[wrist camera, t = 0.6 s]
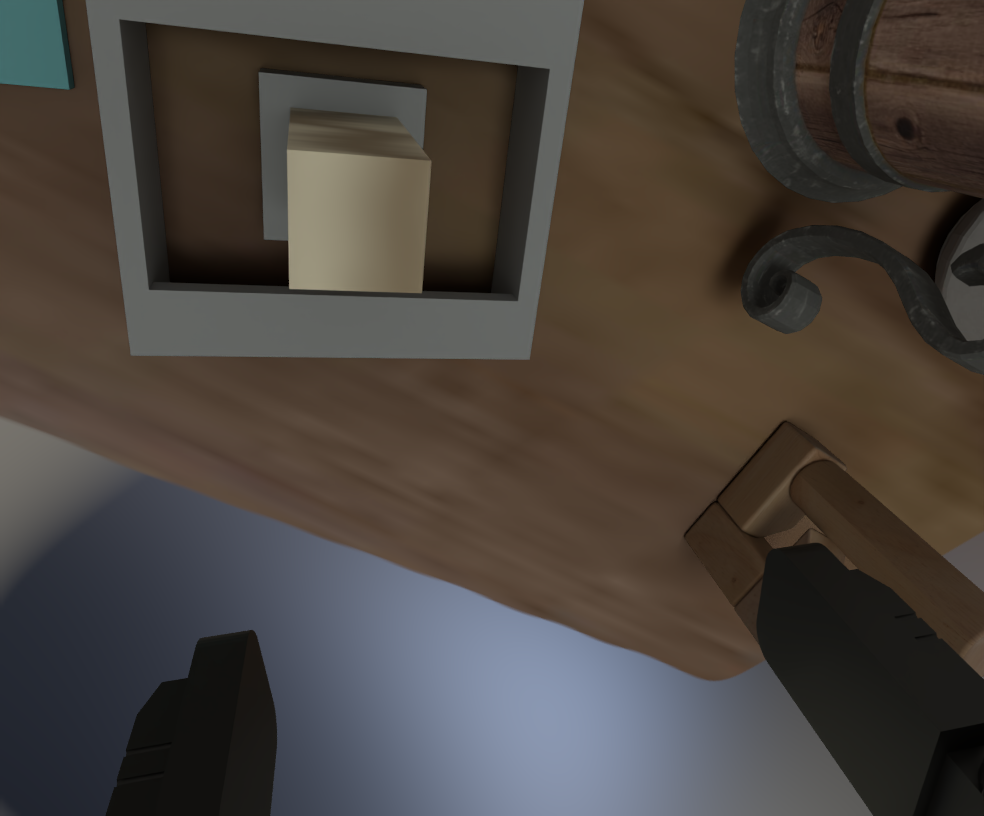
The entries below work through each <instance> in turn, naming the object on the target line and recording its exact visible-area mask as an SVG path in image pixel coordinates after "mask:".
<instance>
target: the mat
mask: <svg viewBox="0 0 984 816" xmlns="http://www.w3.org/2000/svg"><path fill="white" fill-rule="evenodd" d="M0 83H3V84H14V85H25V86H36V87H46V88H57V89H68V90H70V89H72V88H75V87H74V80H73V73H72V66H71V59H70V51H69V44H68V37H67V30H66V23H65V16H64V9H63V2H62V0H0Z"/></svg>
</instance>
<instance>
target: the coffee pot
mask: <svg viewBox="0 0 984 816" xmlns="http://www.w3.org/2000/svg"><path fill="white" fill-rule="evenodd" d="M982 243H984V199H981V200H980V201H979V202H978V203H976V204H975V205H974V206H973V207H972V208H970V209H969V210H968V211H967V212H966V213H965V214H964V215H963V216H962V217H961V218H960V219H959V221H958V222H957V223H956V225H955V226H954V227H953V229H952V230H951V231H950V232H949V234H948V236H947V238H946V240H945V242H944V244H943V246H942V248H941V251H940V254H939V258H938V261H937V264H936V273H935V284H936V285H937V287H938V288H939V290H940V292H941V294H942V296H943V298H944V301H945V303H946V305H947V307H948V309H949V311H950V314H951V316H952V318H953V320H954V322H955V325H956V326H957V328H958V329H959V330H960V332H961V333H962V334H963V336H964V337H965V339H966V340H967V341H975V340H983V339H984V285H980V286H970V287H969V286H968V285H966V284H965V283H963V282H962V281H960V280H959V279H957V278H956V277H955V276H954V275H953V274H952V270H951V264H952V263H953V262H954V261H955V260H956V259H957V258H958V257H959V256H960V255H961V254H962V253H964V252H966V251H968V250H970V249H972V248H974V247H976V246H977V245H979V244H982Z"/></svg>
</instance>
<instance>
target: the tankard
mask: <svg viewBox="0 0 984 816" xmlns="http://www.w3.org/2000/svg"><path fill="white" fill-rule="evenodd" d="M735 93H736V99H737V104H738V109H739V114H740V120H741V124H742V126H743V128H744V131H745V133H746V136H747V138H748V141H749V143H750V146H751V148H752V150H753V152H754V153H755V154H756V156H757V157H758V159H759V160H760V161H761V163H762V164H763V166H764V167H765V168H766V170H767V171H768V172H769V173H770V174H771V175H772V176H774V177H775V178H776V179H777V180H778V181H780V182H781V183H782V184H783V185H784V186H785V187H787V188H788V189H791V190H793V191H795V192H797V193H799V194H801V195H803V196H805V197H808V198H811V199H816V200H822V201H827V202H832V203H836V202H855V201H862V200H866V199H869V198H873V197H877V196H881V195H884V194H887V193H889V192H891V191H893V190H895V189H897V188H899V187H902V186H904V187H908V188H913V189H918V190H923V191H928V192H943V191H954V192H958V193H962V194H966V195H971V196H975V197H979V198H983V199H984V0H746V2H745V5H744V8H743V11H742V15H741V18H740V25H739V31H738V38H737V44H736V50H735ZM829 256H845V257H857V258H861V259H864V260H868V261H871V262H874V263H878V264H879V265H880V266H882V267H883V268H884V269H885V270H886V272H887V273H888V275H889V276H890V278H891V279H892V281H893V282H894V284H895V286H896V288H897V291H898V293H899V296H900V298H901V301H902V303H903V305H904V308H905V310H906V312H907V314H908V317H909V319H910V321H911V323H912V325H913V326H914V327H915V329H916V330H917V331H918V333H919V334H920V335H921V337H922V338H923V339H924V341H925V342H926V343H928V344H929V345H930V346H932V347H933V348H934V349H936V350H937V351H938V352H940V353H941V354H942V355H944V356H946V357H948V358H949V359H951V360H953V361H954V362H956V363H958V364H960V365H961V366H963V367H965V368H967V369H968V370H970V371H972V372H976V373H979V374H983V375H984V339H983V340H975V341H967V340H966V339H965V337H964V336H963V334H962V333H961V332H960V330H959V329H958V328H957V326H956V325H955V322H954V320H953V318H952V316H951V314H950V311H949V309H948V307H947V305H946V303H945V301H944V298H943V296H942V294H941V292H940V290H939V288H938V287H937V285H936V284H935V283H934V282H933V280H932V279H931V278H930V276H929V275H928V274H927V272H925V271H924V270H923V269H921V268H920V267H919V266H918V265H916V264H915V263H914V262H913V261H911V260H910V259H909V258H907V257H906V256H904V255H903V254H901V253H899V252H898V251H896V250H895V249H893V248H892V247H890V246H889V245H887V244H886V243H884V242H882V241H880V240H878V239H876V238H874V237H872V236H870V235H868V234H866V233H864V232H862V231H858V230H854V229H849V228H845V227H841V226H829V225H811V226H806V227H802V228H797V229H792V230H788V231H786V232H784V233H782V234H780V235H778V236H776V237H775V238H773V239H771V240H770V241H769V242H768V243H766V244H765V245H764V246H763V247H762V248H761V249H760V250H759V251H758V252H757V253H756V255H755V256H754V257H753V259H752V260H751V261H750V263H749V264H748V266H747V269H746V271H745V273H744V275H743V279H742V286H741V297H742V303H743V307H744V309H745V310H746V311H747V313H748V314H749V316H750V317H752V318H754V319H756V320H758V321H760V322H761V323H763V324H765V325H767V326H769V327H771V328H773V329H775V330H777V331H780V332H782V333H785V334H788V333H793V332H797V331H800V330H802V329H803V328H805V327H806V326H807V325H809V324H810V323H811V322H812V321H813V319H814V318H815V317H816V315H817V314H818V312H819V310H820V306H821V302H822V296H821V294H820V291H819V289H818V287H817V286H816V285H815V284H813V283H812V282H811V281H809V280H807V279H806V278H804V277H802V276H800V275H799V274H797V273H795V272H796V271H797V270H798V269H799V268H800V267H801V266H803V265H804V264H806V263H809V262H811V261H813V260H815V259H817V258H822V257H829ZM951 270H952V274H953V275H954V276H955V277H956V278H957V279H959V280H960V281H962V282H963V283H965V284H966V285H968V286H969V287H970V286H980V285H984V243H982V244H979V245H977V246H976V247H974V248H972V249H970V250H968V251H966V252H964V253H962V254H961V255H960V256H959V257H958V258H957V259H956V260H955V261H954V262H953V263H952V264H951ZM779 296H780V297H779Z"/></svg>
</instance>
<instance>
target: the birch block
mask: <svg viewBox="0 0 984 816" xmlns="http://www.w3.org/2000/svg"><path fill="white" fill-rule="evenodd" d="M430 175H431V160H430V158H429V157H428V156H427V155H426V153H425V152H424V151H423V150H422V148H421V147H420V146H419V145H418V143H417V142H416V141H415V140H414V138H413V137H412V136H411V135H410V133H409V132H408V131H407V129H406V128H405V127H404V126H403V124H402V123H401V122H400V121H399V119H398V118H397V117H388V116H378V115H367V114H356V113H345V112H334V111H324V110H313V109H302V108H290V120H289V132H288V144H287V181H288V244H289V289H307V290H337V291H368V292H399V293H422V285H423V271H424V257H425V244H426V230H427V216H428V203H429V189H430Z"/></svg>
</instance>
